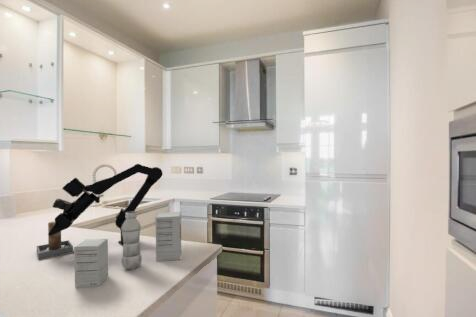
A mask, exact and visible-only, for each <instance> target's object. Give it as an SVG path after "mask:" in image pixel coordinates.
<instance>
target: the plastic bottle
mask: <svg viewBox="0 0 476 317" xmlns="http://www.w3.org/2000/svg"><path fill="white" fill-rule="evenodd" d="M125 218H126V220H125V221H124V223H123V224H122V227H121V230H120V232H121V231H122V236H123V247H122V248H123V249H122V251H123V252H122V256H121V265H122V268H123V269H125V270H134V269H137V268H140V266H141V264H142V254H141V253H142V252H141V247H140V235H141V228H142V227H141V225H142V224H141V223H140V221H139V220H138V219H137V211H136V210H135V211H129V212H126V213H125Z"/></svg>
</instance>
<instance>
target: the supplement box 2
mask: <svg viewBox="0 0 476 317" xmlns="http://www.w3.org/2000/svg"><path fill="white" fill-rule="evenodd" d="M181 256H182V212H181V211H172V212H159V213H158V214H157V216H156V217H155V261H156V262H162V261H163V262H164V261H177V260H181Z"/></svg>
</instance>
